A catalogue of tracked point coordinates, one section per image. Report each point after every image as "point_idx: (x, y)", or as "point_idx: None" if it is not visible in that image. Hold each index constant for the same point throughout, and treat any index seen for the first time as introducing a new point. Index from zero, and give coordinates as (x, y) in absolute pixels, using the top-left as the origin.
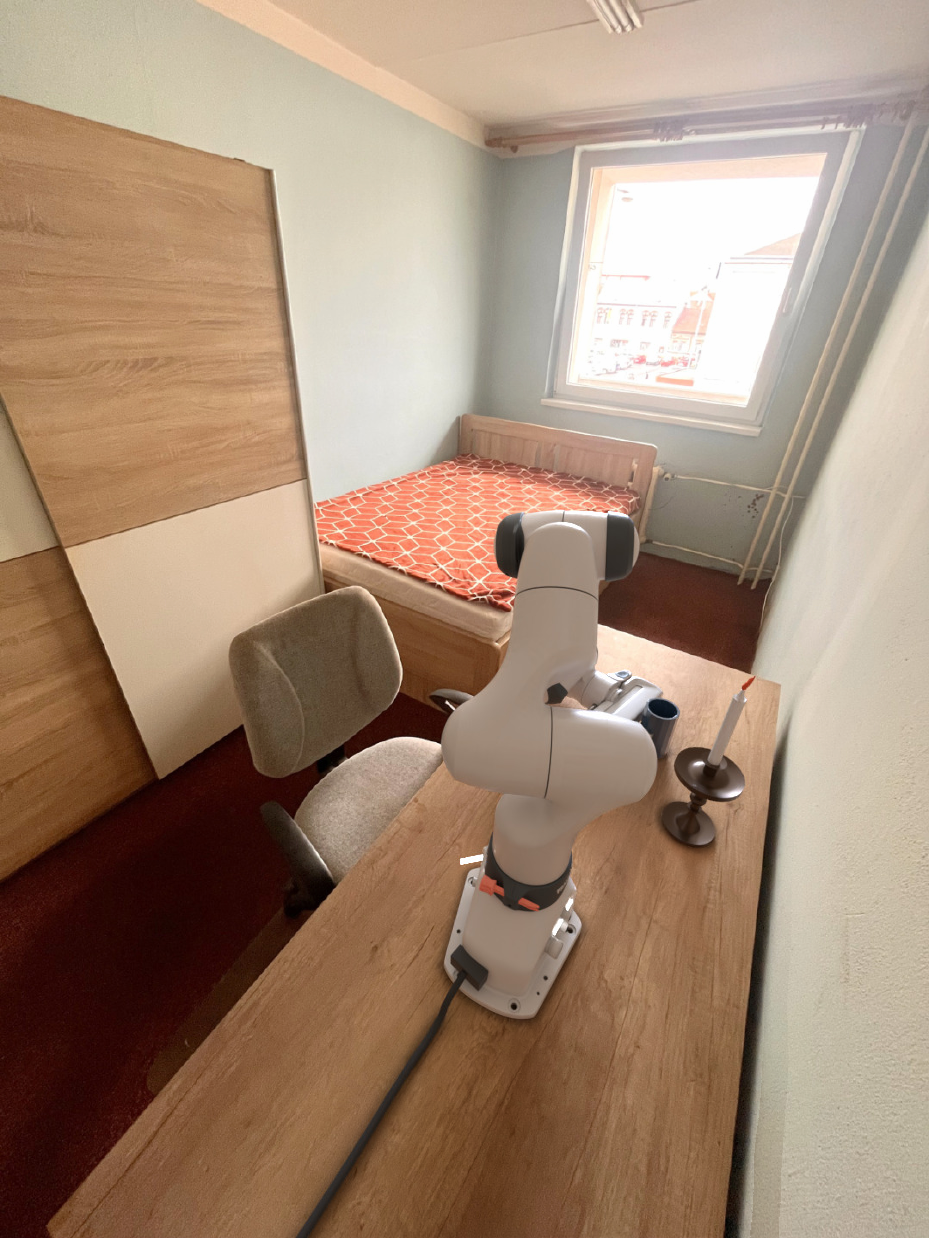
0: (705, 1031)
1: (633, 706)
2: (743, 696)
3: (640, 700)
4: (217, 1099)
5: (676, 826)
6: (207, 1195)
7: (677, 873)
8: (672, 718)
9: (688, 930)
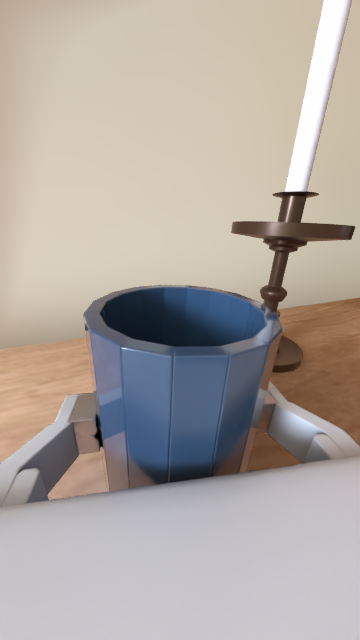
0: (345, 306)
1: (243, 581)
2: None
3: (74, 616)
4: None
5: (282, 350)
6: None
7: (313, 336)
8: (199, 288)
9: (329, 320)
